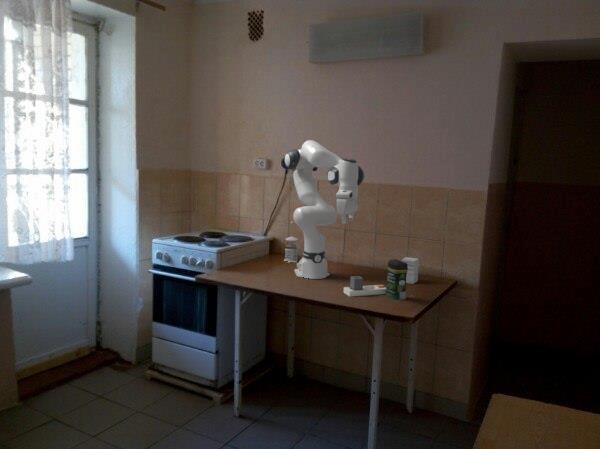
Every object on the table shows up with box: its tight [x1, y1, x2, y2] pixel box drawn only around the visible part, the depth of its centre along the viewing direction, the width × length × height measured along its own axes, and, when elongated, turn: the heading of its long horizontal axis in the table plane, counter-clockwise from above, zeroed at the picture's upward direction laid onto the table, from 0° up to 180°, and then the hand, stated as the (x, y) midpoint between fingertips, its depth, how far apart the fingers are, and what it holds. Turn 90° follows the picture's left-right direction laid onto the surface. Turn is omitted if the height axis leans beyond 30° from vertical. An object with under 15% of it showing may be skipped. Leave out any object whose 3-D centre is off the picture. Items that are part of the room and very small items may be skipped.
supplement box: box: [401, 256, 420, 285], centre depth 262 cm, size 7×7×13 cm
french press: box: [283, 220, 300, 263], centre depth 303 cm, size 10×12×25 cm
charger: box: [349, 275, 364, 291], centre depth 232 cm, size 4×4×8 cm
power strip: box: [343, 284, 387, 297], centre depth 234 cm, size 7×20×4 cm, turn 109°
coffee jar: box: [385, 258, 408, 301], centre depth 229 cm, size 10×8×19 cm
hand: (347, 222), depth 231 cm, fingers open, 8 cm apart
